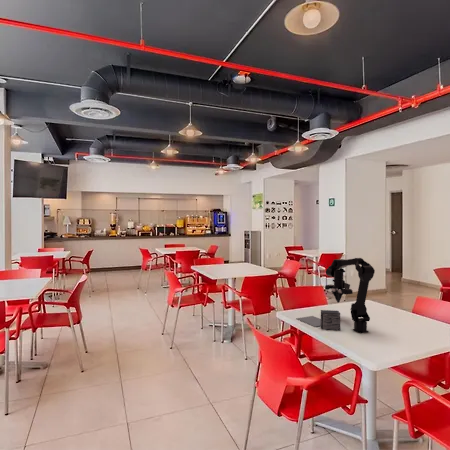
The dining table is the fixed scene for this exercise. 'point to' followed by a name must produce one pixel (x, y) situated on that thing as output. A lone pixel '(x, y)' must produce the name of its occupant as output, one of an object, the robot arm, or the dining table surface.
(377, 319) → the dining table surface
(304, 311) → the dining table surface
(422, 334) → the dining table surface
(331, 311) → the small box
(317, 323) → the mat
